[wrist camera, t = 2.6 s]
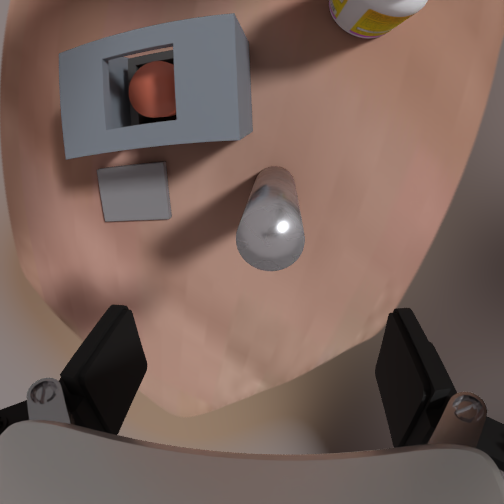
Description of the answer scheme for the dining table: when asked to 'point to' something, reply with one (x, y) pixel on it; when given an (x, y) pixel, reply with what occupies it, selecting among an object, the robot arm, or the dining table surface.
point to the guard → (186, 87)
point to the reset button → (154, 90)
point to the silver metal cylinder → (271, 222)
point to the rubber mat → (135, 192)
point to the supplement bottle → (372, 15)
